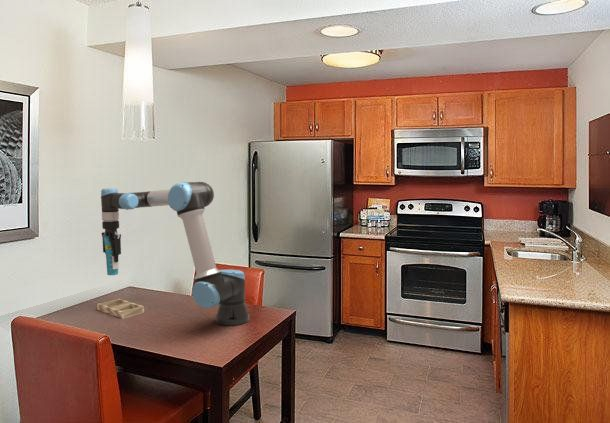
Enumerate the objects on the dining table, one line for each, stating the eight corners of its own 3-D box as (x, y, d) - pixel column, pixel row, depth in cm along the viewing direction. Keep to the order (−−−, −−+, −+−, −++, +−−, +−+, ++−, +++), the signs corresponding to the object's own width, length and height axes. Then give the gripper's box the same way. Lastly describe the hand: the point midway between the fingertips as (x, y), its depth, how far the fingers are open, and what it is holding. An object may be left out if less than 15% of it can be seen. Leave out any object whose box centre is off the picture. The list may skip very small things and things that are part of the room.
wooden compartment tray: (144, 312, 224) (144, 306, 224) (122, 318, 215) (121, 312, 215) (119, 304, 237) (118, 298, 237) (97, 309, 228) (97, 303, 228)
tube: (107, 276, 224) (105, 236, 222) (103, 274, 227) (101, 235, 225) (122, 274, 229) (121, 235, 227) (118, 272, 232) (117, 234, 230)
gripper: (127, 221, 223) (129, 269, 225) (108, 218, 234) (110, 264, 236) (113, 222, 217) (115, 271, 219) (93, 219, 228) (95, 266, 230)
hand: (112, 267), depth 228 cm, fingers closed on tube, 5 cm apart
